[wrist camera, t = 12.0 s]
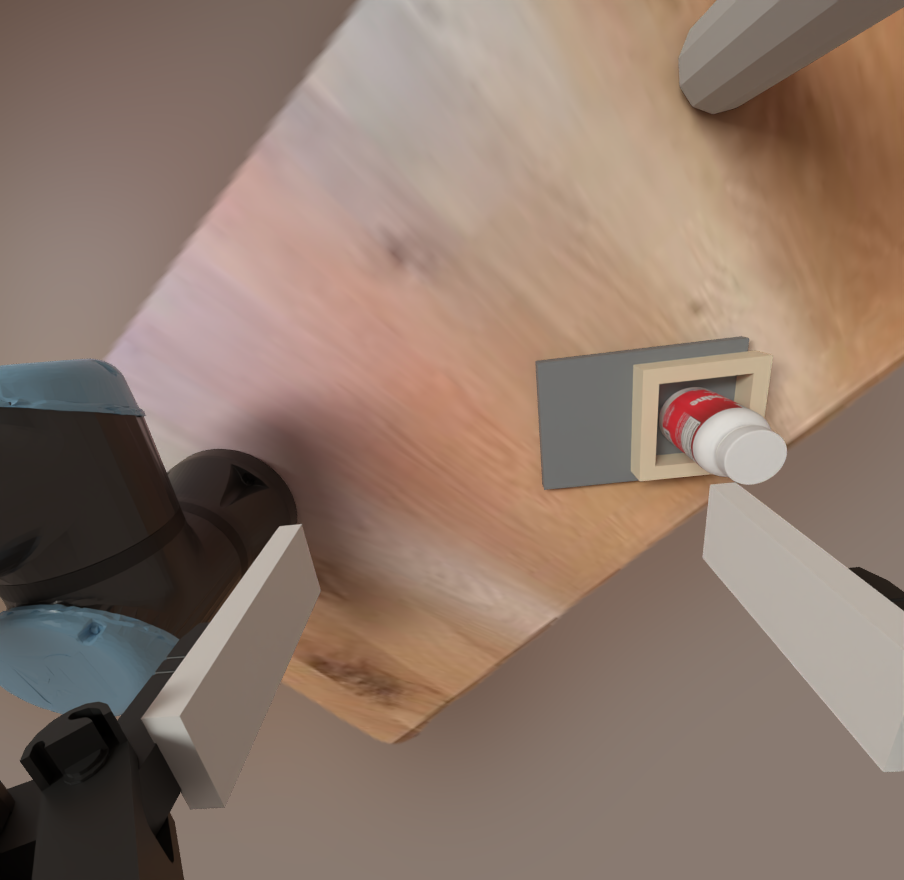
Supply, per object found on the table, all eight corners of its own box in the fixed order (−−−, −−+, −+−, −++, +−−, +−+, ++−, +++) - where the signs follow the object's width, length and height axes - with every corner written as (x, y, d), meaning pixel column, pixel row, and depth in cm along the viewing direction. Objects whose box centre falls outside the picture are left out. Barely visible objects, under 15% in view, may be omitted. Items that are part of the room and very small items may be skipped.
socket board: (542, 484, 48) (548, 500, 45) (535, 361, 43) (541, 368, 40) (734, 465, 47) (755, 480, 44) (749, 335, 42) (775, 341, 39)
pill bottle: (728, 390, 43) (812, 428, 33) (705, 447, 45) (777, 499, 35) (668, 380, 43) (733, 415, 32) (647, 437, 45) (702, 487, 35)
